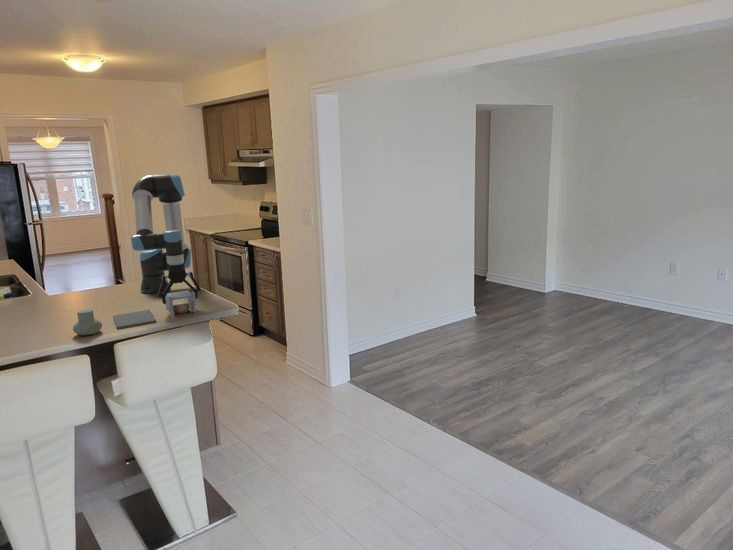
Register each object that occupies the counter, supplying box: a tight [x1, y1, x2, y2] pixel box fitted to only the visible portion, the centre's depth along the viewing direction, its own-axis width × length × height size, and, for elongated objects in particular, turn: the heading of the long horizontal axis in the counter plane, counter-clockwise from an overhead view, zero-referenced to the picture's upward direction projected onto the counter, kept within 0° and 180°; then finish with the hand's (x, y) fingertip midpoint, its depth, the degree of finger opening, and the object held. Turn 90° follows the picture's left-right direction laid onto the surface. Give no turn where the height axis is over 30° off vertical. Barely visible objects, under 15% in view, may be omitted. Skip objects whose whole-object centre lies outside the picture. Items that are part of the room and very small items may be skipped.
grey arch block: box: [166, 290, 196, 318], centre depth 248 cm, size 12×10×9 cm
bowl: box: [173, 302, 190, 314], centre depth 248 cm, size 7×7×4 cm
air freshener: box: [72, 308, 103, 336], centre depth 221 cm, size 11×8×10 cm
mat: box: [112, 309, 157, 330], centre depth 238 cm, size 20×16×1 cm
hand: (181, 307), depth 248 cm, fingers open, 12 cm apart
